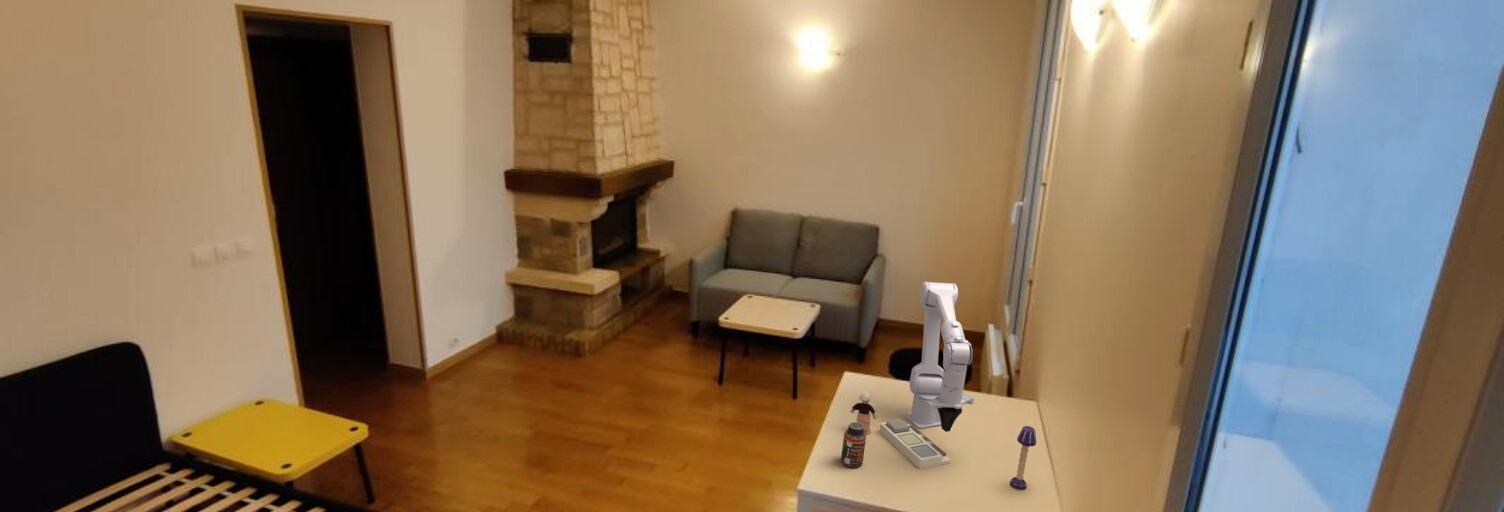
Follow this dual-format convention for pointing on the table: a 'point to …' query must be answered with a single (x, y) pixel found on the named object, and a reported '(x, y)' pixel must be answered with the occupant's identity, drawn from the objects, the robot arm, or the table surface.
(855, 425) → the supplement bottle
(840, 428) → the table surface
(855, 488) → the table surface
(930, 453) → the slate key
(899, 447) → the keypad
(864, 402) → the grandmother figurine
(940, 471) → the table surface
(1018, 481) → the toy lamp
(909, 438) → the sage key
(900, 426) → the grey key
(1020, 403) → the table surface
